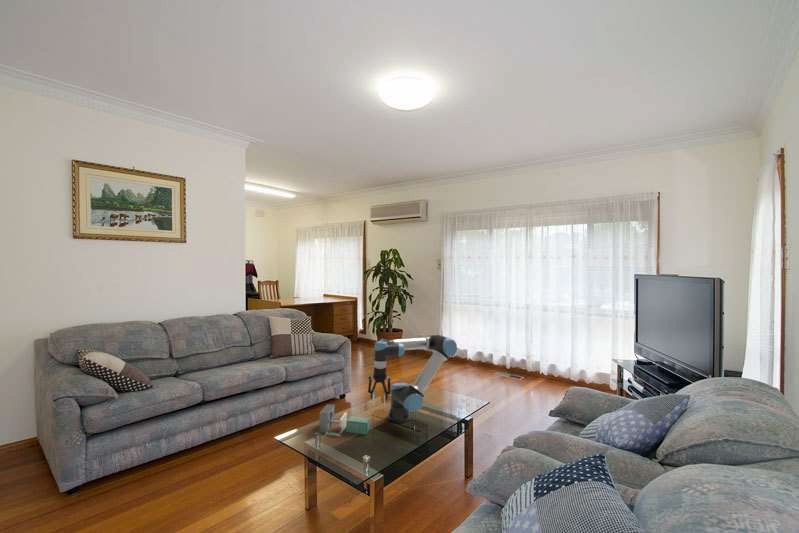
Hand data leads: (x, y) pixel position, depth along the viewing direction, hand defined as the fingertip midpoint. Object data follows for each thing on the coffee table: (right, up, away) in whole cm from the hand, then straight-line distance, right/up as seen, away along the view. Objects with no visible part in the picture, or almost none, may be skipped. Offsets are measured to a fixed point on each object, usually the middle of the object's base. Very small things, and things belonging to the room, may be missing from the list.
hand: (378, 404), depth 225 cm
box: (-13, -17, +1) cm, 21 cm away
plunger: (-28, -16, +1) cm, 33 cm away
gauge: (-28, -16, +2) cm, 33 cm away
